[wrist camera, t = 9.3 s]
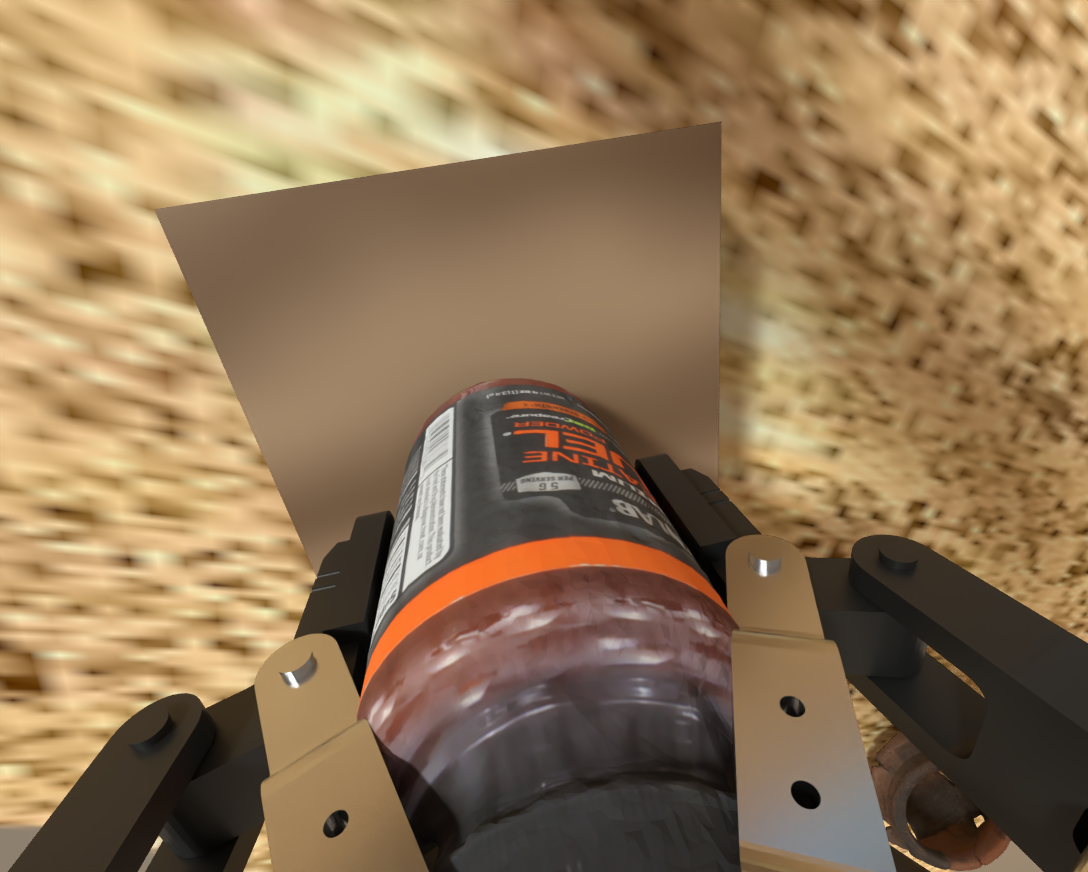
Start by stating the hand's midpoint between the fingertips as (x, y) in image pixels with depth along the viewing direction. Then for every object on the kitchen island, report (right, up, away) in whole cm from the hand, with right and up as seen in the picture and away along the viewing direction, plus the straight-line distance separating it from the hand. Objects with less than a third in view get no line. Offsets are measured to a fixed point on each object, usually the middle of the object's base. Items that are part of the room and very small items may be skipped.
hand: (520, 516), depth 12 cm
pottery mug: (+28, -22, +26) cm, 44 cm away
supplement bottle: (0, +1, +3) cm, 3 cm away
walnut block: (-2, +4, +9) cm, 10 cm away
